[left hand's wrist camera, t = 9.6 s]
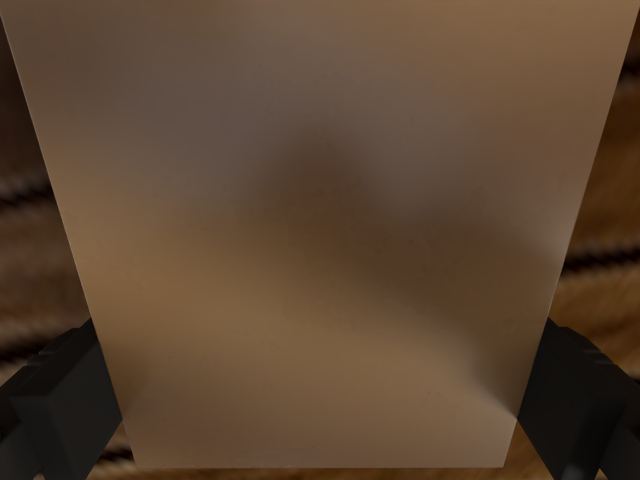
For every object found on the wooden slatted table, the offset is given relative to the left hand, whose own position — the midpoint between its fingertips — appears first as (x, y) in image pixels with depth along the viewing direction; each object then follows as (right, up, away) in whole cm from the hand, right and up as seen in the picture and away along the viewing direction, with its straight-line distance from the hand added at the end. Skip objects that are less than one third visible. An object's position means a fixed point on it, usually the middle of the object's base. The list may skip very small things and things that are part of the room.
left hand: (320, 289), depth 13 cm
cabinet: (0, +8, +1) cm, 8 cm away
